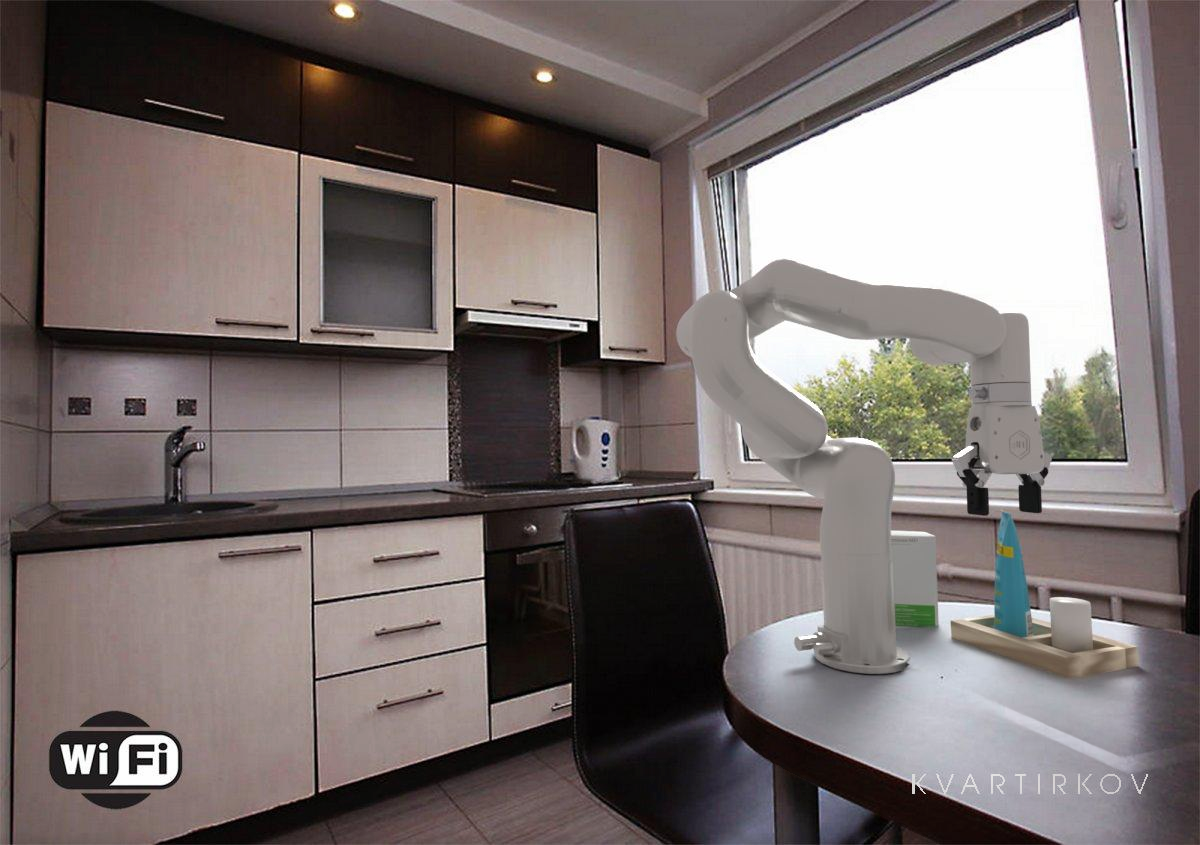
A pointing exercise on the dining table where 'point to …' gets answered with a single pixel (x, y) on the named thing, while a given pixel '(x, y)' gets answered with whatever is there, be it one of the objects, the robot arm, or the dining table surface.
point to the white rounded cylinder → (1071, 624)
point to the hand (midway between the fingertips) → (1004, 513)
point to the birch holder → (1046, 648)
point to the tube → (1011, 583)
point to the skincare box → (914, 579)
